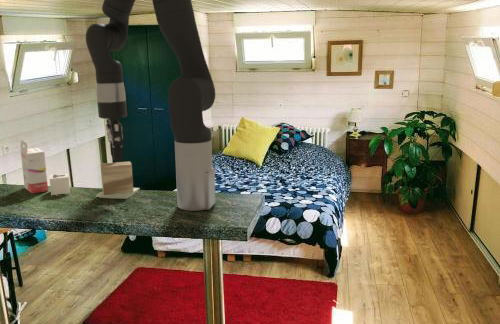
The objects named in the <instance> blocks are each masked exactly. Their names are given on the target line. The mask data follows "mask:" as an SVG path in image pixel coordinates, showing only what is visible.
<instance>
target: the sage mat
mask: <svg viewBox="0 0 500 324" xmlns="http://www.w3.org/2000/svg"><path fill="white" fill-rule="evenodd" d="M138 190H139V191H141V190H140V187H133V191H134V192H127V193H118V194H109V195H104V193H103V190H102V191H101V192H99V193H97V194H95V198H97V197H99V198H101V199H120V200H122V199H124V200H127V199H128V198H130V197H132V195H134V194H136V193H137V192H139V191H138Z"/></svg>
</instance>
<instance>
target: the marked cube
mask: <svg viewBox="0 0 500 324" xmlns="http://www.w3.org/2000/svg"><path fill="white" fill-rule="evenodd" d="M49 186H50V196H51V197H53V196H52V195H56V196H58V195H57V194H62V193H70V194H71V188H70V177H69V173H58V174H49Z"/></svg>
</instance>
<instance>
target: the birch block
mask: <svg viewBox="0 0 500 324" xmlns="http://www.w3.org/2000/svg"><path fill="white" fill-rule="evenodd" d="M100 170H101V171H100V173H101V174H100V175H101V186H102V191H103V193H104V195H109V194H118V193H127V192H134V191H133V188H134V179H133V177H134V176H133V164H132V162H131V160H130V161H129V160H128V161H116V162H108V163H105V162H104V163H101V164H100Z"/></svg>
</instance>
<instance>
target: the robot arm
mask: <svg viewBox="0 0 500 324" xmlns="http://www.w3.org/2000/svg"><path fill="white" fill-rule="evenodd" d="M135 2H136V0H103V3H102V6H101V8H102V9H101V11H102V13H103V14H104V15H105V16H106V17H108V18H109V21H108V23H100V22H98V23H95V22H94V23H93V24H90V25H89V26H88V27H87V30H86V33H85V45H86V47H87V50H88V53H89V55H90V58H91V61H92V64H93V66H94V69H95V80H96V101H97V102H96V104H97V112H98V118H100V119H102V120H103V119H104V120H105V119H106V120H105V121H106V124H105V128H106V134H107V135H106V136H107V139H108V143H109V146H110V149H109V150H110V156H111V157H113V161H115V162H123V160H124V159H123V146H124V141H123V139H124V137H123V124H122V123H120V121H119V120H120V118H125V117H127V116H128V112H127V111H128V110H127V109H128V108H127V100H126V99H127V98H126V97H127V96H126V89H125V84H124V75H123V74H124V73H123V72H124V71H123V66H122V63H121V62H120V61H118V60H115V59H113V58H112V56H111V53H110V52H118V51H120V50H121V49H123V47H124V46H125V44H126V42H127V39H128V31H129V25H130V24H129V23H130V22H129V21H130V15H131V12H132V10H133V7H134V5H135ZM152 6H153V9H154V10H153V11H154V13H155V18H156V22H157V25H158V27H159V31H160V32H161V33H162V35H163V37H164V39H165V40H166V41H167V44H168V45H169V46H170V48H171V49H172V51H173V53H174V54H175V56H176V58H177V62H178V65H179V67H180V72H181V76H178V77H177V78H175V79H174V80H173V81H172V82H171V83H170V86H169V88H168V97H167V99H168V111H169V121H170V122H169V123H170V128H171V131H172V133H173V137H174V153H175V154H174V155H175V158H174V159H175V179H176V181H175V182H176V202H177V207H178V208H179V209H180V210H183V211H188V212H189V211H190V212H192V211H193V212H194V211H204V210H208V211H209V210H211V209H212V207H213V206H214V205H215V204H216V180H215V179H216V177H215V176H216V173H215V172H216V171H215V168H214V167H213V152H212V151H213V149H212V147H213V146H212V145H213V144H212V142H213V141H212V130H211V128H209V127H207V126H206V125H205V123H204V116H203V112H205V111H207V110H209V109H211V108H212V106H213V105H214V103H215V99H216V88H215V84H214V82H213V78H212V75H211V72H210V69H209V66H208V64H207V61H206V58H205V54H204V51H203V47H202V42H201V38H200V34H199V30H198V26H197V22H196V17H195V12H194V11H195V10H194V7H193V4H192V0H152Z"/></svg>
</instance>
